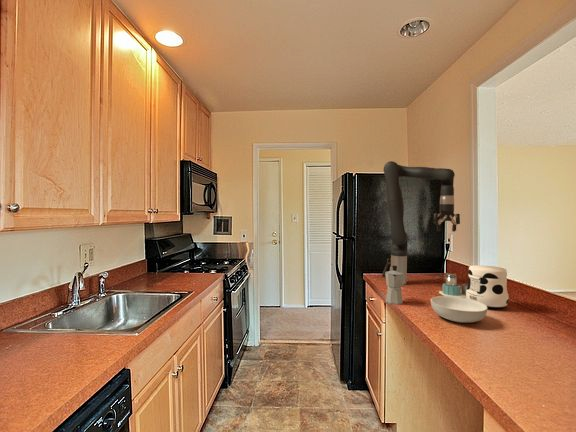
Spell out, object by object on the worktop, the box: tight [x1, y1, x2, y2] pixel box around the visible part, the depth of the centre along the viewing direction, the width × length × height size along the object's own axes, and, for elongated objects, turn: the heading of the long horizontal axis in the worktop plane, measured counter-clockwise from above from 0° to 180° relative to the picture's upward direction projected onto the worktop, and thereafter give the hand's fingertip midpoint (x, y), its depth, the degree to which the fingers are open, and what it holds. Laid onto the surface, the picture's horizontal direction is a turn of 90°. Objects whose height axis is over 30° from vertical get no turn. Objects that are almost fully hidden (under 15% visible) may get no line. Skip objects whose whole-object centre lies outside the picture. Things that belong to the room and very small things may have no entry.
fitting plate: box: [438, 282, 468, 298], centre depth 168 cm, size 17×11×6 cm, turn 89°
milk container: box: [466, 264, 510, 309], centre depth 152 cm, size 17×17×18 cm
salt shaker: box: [445, 273, 457, 287], centre depth 169 cm, size 5×5×10 cm
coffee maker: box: [385, 266, 404, 306], centre depth 157 cm, size 15×9×18 cm, turn 161°
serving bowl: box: [430, 295, 489, 324], centre depth 132 cm, size 21×21×7 cm
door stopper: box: [381, 258, 391, 278], centre depth 216 cm, size 9×6×12 cm, turn 72°
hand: (446, 231), depth 185 cm, fingers open, 8 cm apart
